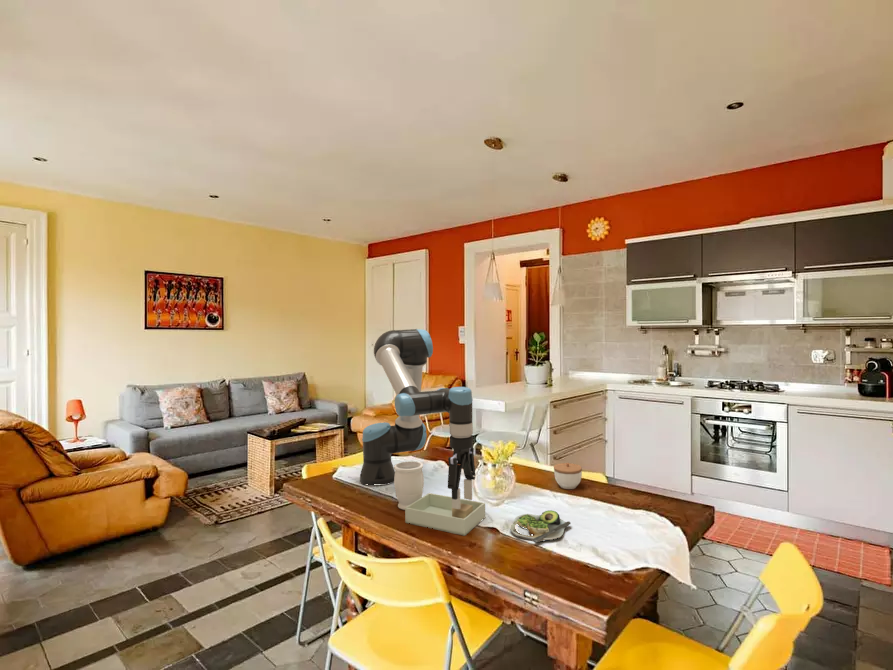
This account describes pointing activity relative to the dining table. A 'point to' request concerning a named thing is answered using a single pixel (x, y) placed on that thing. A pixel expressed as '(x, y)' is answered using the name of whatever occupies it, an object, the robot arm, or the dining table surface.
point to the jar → (408, 482)
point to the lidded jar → (568, 475)
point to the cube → (462, 511)
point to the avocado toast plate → (540, 526)
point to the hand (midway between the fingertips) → (462, 503)
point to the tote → (443, 514)
